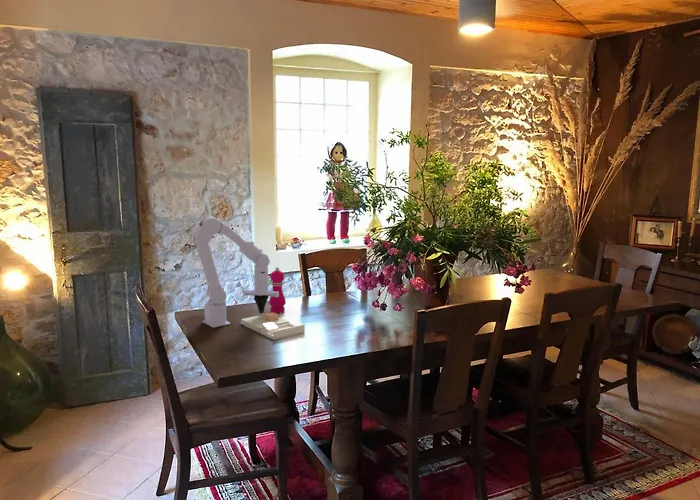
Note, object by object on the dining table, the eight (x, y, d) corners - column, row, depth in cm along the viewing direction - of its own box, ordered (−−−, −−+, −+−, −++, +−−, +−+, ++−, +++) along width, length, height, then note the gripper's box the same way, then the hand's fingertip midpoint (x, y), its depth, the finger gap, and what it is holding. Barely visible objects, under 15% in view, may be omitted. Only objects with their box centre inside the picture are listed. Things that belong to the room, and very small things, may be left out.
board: (241, 323, 230) (241, 319, 229) (270, 317, 239) (270, 313, 238) (258, 332, 219) (258, 327, 219) (288, 326, 228) (288, 321, 228)
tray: (259, 333, 219) (259, 324, 218) (289, 326, 228) (289, 318, 227) (274, 340, 211) (274, 331, 210) (304, 333, 220) (304, 324, 219)
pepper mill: (265, 312, 246) (265, 267, 243) (275, 308, 253) (275, 264, 249) (279, 314, 243) (279, 269, 240) (288, 310, 249) (288, 266, 246)
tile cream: (261, 328, 219) (262, 323, 219) (271, 326, 222) (272, 321, 222) (267, 334, 216) (268, 329, 216) (277, 331, 219) (278, 327, 218)
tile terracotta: (263, 318, 231) (263, 313, 230) (272, 316, 234) (272, 312, 233) (269, 321, 227) (269, 316, 227) (278, 319, 230) (278, 314, 230)
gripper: (241, 282, 230) (241, 314, 233) (275, 284, 229) (275, 316, 231) (246, 278, 237) (247, 309, 240) (280, 280, 236) (280, 311, 238)
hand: (261, 312), depth 236 cm, fingers closed
